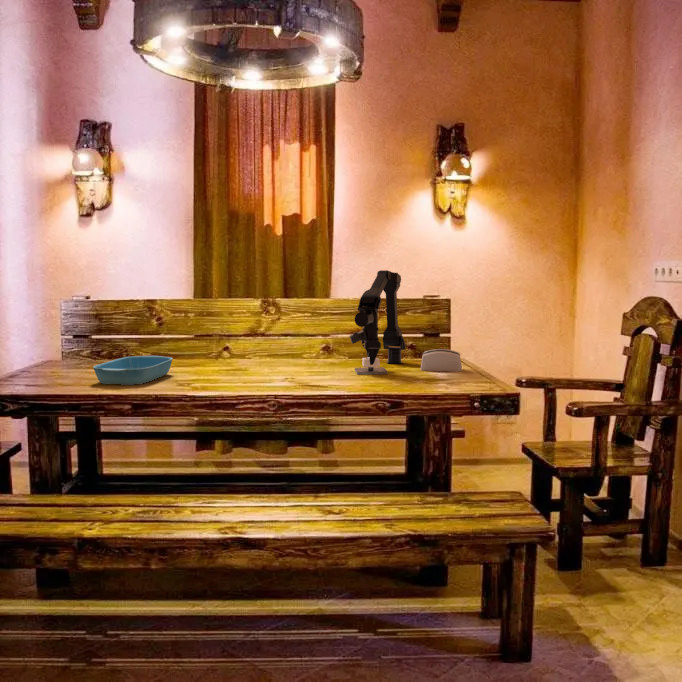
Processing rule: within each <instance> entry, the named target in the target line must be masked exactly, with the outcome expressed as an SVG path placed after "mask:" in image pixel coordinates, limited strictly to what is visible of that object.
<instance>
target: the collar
mask: <svg viewBox="0 0 682 682" xmlns="http://www.w3.org/2000/svg"><path fill="white" fill-rule="evenodd" d="M361 359H362V360H361V361H362V362H361V363H362V364H361V365H362V368H368V367H374V368H377V367H380V366H381V363H380V361H381V360H380V358H379V357H376V359H375V361H374V364H373V365H370V360H369V359H368V357H362V358H361Z"/></svg>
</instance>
